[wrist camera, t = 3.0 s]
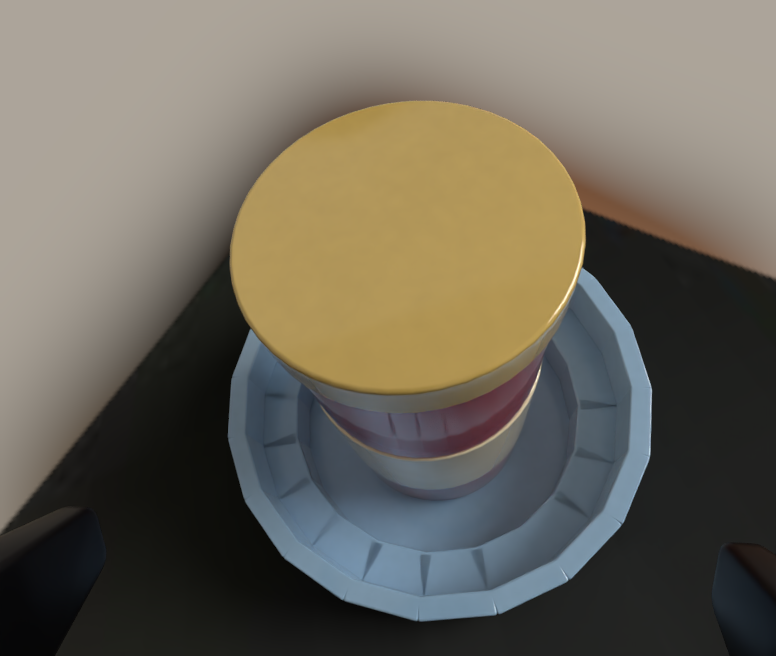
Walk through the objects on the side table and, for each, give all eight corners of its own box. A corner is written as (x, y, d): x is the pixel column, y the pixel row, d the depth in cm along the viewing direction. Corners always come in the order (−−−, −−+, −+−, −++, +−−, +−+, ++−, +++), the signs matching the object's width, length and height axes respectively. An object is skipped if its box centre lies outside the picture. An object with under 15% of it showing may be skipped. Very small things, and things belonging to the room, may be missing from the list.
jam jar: (429, 546, 18) (378, 482, 8) (316, 411, 21) (167, 228, 10) (561, 420, 19) (670, 218, 9) (439, 308, 22) (413, 55, 12)
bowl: (424, 714, 16) (411, 748, 13) (208, 411, 22) (158, 375, 18) (696, 428, 19) (749, 390, 15) (443, 223, 24) (438, 161, 21)
